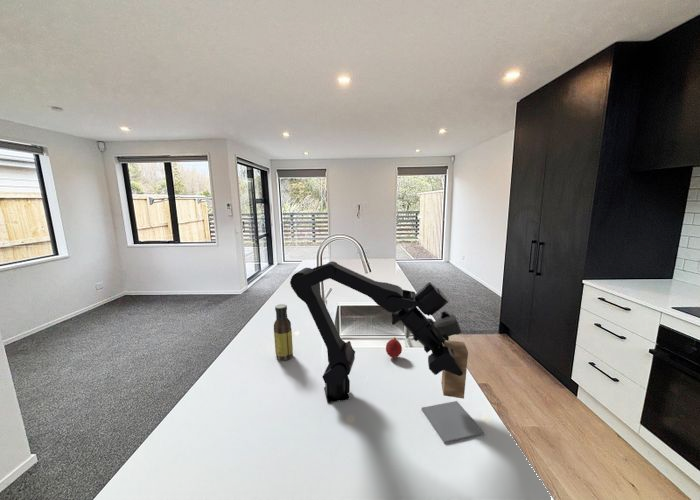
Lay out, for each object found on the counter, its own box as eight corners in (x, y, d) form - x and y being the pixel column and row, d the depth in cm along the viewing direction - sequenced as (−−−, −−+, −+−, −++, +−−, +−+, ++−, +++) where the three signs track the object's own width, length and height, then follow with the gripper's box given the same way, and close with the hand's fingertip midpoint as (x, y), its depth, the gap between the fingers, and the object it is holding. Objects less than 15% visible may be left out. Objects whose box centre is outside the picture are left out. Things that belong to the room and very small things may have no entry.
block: (443, 395, 70) (447, 349, 68) (441, 383, 75) (444, 340, 73) (463, 398, 69) (468, 351, 67) (460, 386, 74) (464, 342, 72)
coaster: (444, 443, 63) (444, 441, 63) (421, 409, 74) (421, 407, 74) (484, 434, 66) (484, 432, 66) (456, 402, 77) (456, 400, 76)
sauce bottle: (288, 350, 104) (286, 301, 100) (296, 357, 99) (294, 306, 96) (272, 356, 100) (269, 305, 96) (279, 364, 95) (277, 310, 92)
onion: (401, 363, 96) (402, 342, 94) (385, 361, 97) (385, 340, 95) (401, 354, 101) (402, 334, 100) (386, 352, 102) (386, 333, 101)
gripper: (447, 321, 60) (496, 373, 60) (438, 294, 78) (475, 334, 78) (410, 350, 63) (456, 399, 63) (409, 317, 81) (445, 356, 81)
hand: (459, 368), depth 71 cm, fingers closed on block, 5 cm apart
